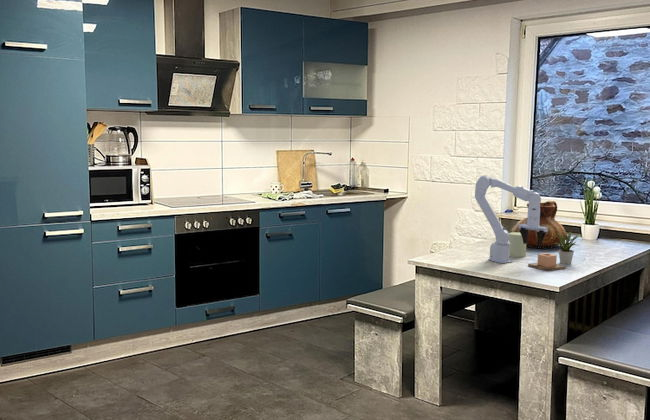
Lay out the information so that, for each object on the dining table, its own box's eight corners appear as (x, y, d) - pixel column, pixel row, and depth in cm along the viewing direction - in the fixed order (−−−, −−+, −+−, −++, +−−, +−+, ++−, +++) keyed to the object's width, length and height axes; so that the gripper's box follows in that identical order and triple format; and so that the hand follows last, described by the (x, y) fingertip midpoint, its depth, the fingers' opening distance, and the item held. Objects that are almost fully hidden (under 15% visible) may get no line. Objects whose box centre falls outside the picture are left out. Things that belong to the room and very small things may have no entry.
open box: (537, 264, 317) (537, 254, 316) (546, 263, 319) (547, 253, 319) (546, 266, 311) (547, 256, 311) (556, 265, 314) (556, 255, 313)
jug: (559, 252, 352) (561, 206, 348) (503, 246, 367) (505, 202, 364) (570, 244, 377) (573, 201, 374) (518, 239, 393) (520, 197, 389)
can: (521, 258, 337) (522, 234, 336) (504, 255, 343) (505, 232, 342) (529, 255, 344) (530, 232, 342) (512, 253, 350) (513, 230, 349)
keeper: (528, 266, 318) (528, 256, 317) (546, 263, 324) (546, 254, 323) (547, 271, 307) (547, 261, 307) (565, 268, 313) (566, 259, 312)
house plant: (585, 267, 317) (587, 233, 314) (554, 266, 319) (556, 232, 317) (579, 261, 330) (581, 229, 328) (550, 260, 333) (552, 228, 331)
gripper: (515, 216, 324) (514, 243, 326) (543, 219, 313) (541, 247, 315) (523, 215, 329) (522, 241, 330) (550, 218, 318) (549, 246, 320)
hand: (532, 244), depth 323 cm, fingers open, 7 cm apart
